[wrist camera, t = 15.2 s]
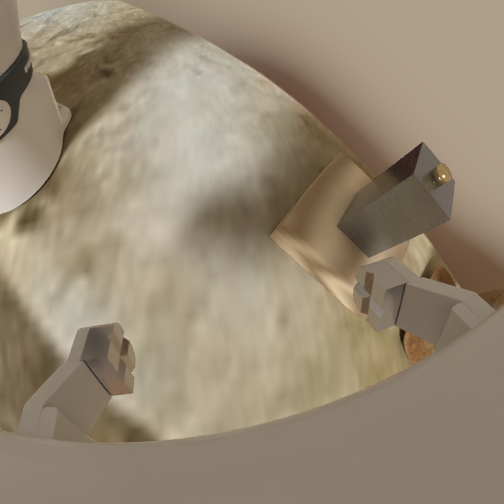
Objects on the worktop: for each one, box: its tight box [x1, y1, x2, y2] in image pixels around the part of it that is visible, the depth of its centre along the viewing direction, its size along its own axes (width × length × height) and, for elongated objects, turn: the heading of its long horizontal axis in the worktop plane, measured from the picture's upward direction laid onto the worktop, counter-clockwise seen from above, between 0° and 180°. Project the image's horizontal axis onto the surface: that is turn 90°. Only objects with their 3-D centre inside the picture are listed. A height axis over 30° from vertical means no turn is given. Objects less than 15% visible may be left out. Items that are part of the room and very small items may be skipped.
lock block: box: [337, 142, 455, 258], centre depth 23 cm, size 5×6×12 cm
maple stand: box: [269, 151, 410, 317], centre depth 31 cm, size 14×14×4 cm
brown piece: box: [403, 266, 504, 365], centre depth 27 cm, size 15×12×15 cm
